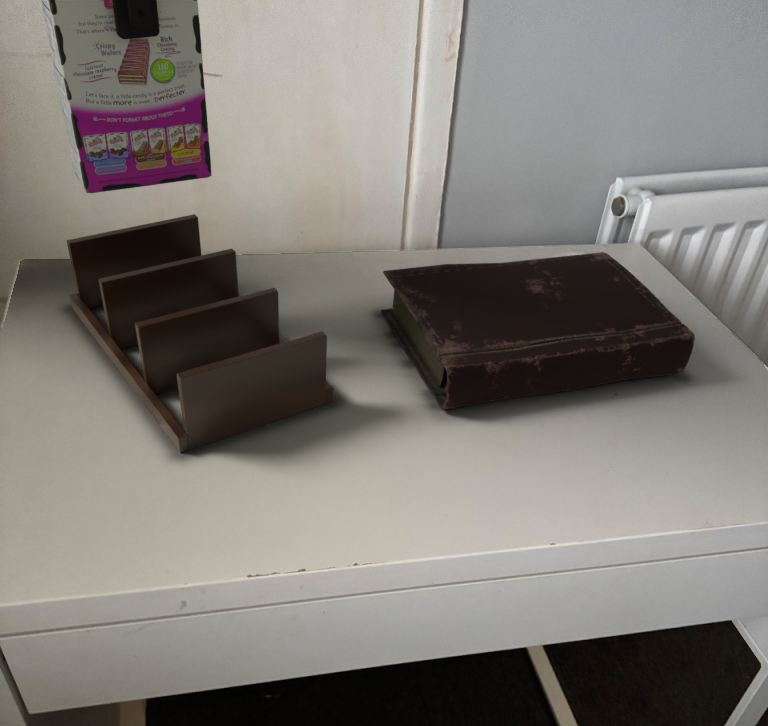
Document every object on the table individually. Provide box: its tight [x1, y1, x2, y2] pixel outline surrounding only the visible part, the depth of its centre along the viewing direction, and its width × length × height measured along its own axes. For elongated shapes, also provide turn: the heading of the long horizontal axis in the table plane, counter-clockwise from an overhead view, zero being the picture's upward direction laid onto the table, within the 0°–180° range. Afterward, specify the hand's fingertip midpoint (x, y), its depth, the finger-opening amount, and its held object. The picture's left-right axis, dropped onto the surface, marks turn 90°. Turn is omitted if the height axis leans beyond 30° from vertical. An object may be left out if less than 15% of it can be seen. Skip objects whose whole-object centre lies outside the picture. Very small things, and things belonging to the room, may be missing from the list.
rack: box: [66, 213, 335, 453], centre depth 76 cm, size 26×15×7 cm, turn 34°
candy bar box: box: [40, 0, 212, 194], centre depth 67 cm, size 11×5×16 cm, turn 118°
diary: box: [380, 251, 696, 411], centre depth 81 cm, size 19×25×5 cm
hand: (123, 23), depth 65 cm, fingers closed on candy bar box, 5 cm apart
